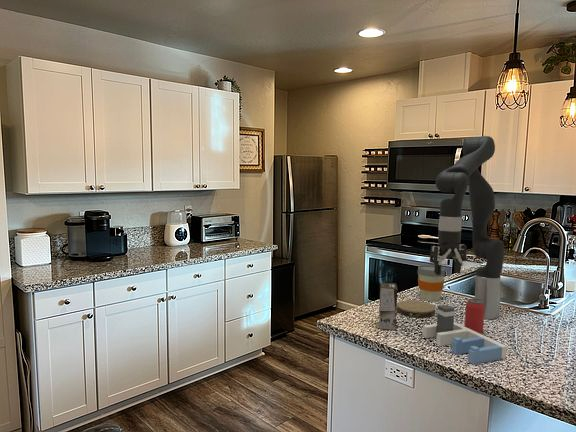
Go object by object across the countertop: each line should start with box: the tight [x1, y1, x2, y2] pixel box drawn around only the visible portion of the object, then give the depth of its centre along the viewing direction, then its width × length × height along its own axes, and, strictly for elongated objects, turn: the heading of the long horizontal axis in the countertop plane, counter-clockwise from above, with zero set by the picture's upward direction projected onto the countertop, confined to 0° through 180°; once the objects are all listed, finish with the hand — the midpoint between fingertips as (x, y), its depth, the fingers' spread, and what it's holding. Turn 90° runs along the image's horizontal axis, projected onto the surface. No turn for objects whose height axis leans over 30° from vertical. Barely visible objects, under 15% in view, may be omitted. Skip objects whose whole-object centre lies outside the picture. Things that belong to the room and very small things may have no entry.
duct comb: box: [422, 321, 508, 365], centre depth 148 cm, size 14×24×5 cm, turn 21°
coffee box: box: [378, 282, 398, 331], centre depth 167 cm, size 9×6×16 cm
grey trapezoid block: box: [436, 304, 456, 337], centre depth 154 cm, size 4×4×12 cm
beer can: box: [464, 297, 485, 334], centre depth 162 cm, size 7×7×12 cm
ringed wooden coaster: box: [396, 299, 436, 319], centre depth 184 cm, size 16×16×3 cm
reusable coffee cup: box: [417, 264, 446, 302], centre depth 203 cm, size 13×13×15 cm
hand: (447, 273), depth 152 cm, fingers open, 8 cm apart
